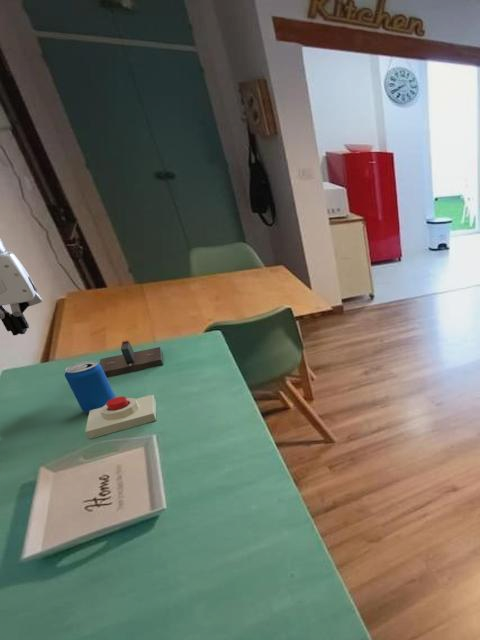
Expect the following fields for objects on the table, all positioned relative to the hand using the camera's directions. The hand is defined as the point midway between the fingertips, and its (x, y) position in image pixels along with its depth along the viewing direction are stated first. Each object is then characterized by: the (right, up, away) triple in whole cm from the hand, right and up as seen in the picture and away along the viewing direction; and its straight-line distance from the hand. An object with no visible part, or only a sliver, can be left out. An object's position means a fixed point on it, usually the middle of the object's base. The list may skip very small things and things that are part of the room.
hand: (20, 332), depth 91 cm
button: (+13, -18, +9) cm, 24 cm away
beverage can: (+3, -19, +14) cm, 24 cm away
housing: (+13, -21, +11) cm, 27 cm away
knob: (-6, -7, +33) cm, 34 cm away
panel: (-6, -9, +34) cm, 35 cm away
